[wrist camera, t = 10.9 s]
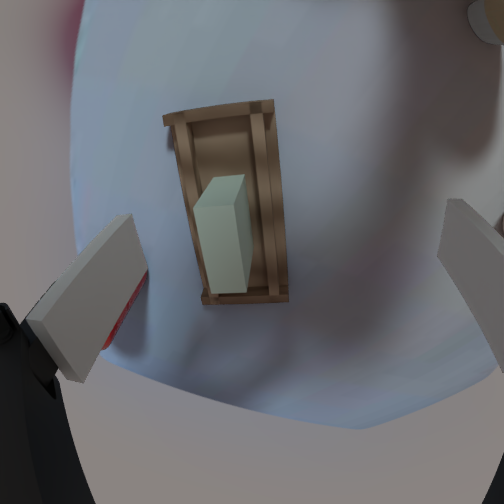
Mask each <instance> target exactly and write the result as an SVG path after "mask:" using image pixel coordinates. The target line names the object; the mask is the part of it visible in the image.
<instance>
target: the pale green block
mask: <svg viewBox="0 0 504 504" xmlns="http://www.w3.org/2000/svg"><path fill="white" fill-rule="evenodd" d="M193 211H194V216H195V221H196V225H197V230H198V235H199V240H200V245H201V249H202V254H203V259H204V263H205V268H206V272H207V277H208V281H209V286H210V290H211V294H217V293H246V292H247V287H248V281H249V274H250V268H251V261H252V255H253V248H254V245H253V237H252V229H251V220H250V212H249V204H248V196H247V188H246V180H245V174H243V175H233V176H222V177H213V179H212V180H211V182H210V183H209V185H208V186H207V188H206V189H205V191H204V192H203V194H202V195H201V197H200V198H199V200H198V201H197V203H196V204H195V206H194V207H193Z"/></svg>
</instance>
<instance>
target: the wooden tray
mask: <svg viewBox="0 0 504 504" xmlns="http://www.w3.org/2000/svg"><path fill="white" fill-rule="evenodd" d="M162 117H163V123H164V127H165V126H170V125H171V131H172V137H173V142H174V148H175V154H176V159H177V165H178V170H179V175H180V181H181V186H182V191H183V196H184V201H185V206H186V211H187V216H188V220H189V225H190V230H191V234H192V239H193V244H194V248H195V253H196V257H197V261H198V266H199V270H200V274H201V279H202V283H203V287H204V289H203V292H202V295H201V301H202V305H218V304H254V303H280V302H289V290H288V271H287V254H286V239H285V224H284V210H283V197H282V185H281V172H280V161H279V149H278V139H277V128H276V118H275V108H274V99H270V100H258V101H248V102H239V103H231V104H223V105H216V106H209V107H202V108H196V109H190V110H184V111H179V112H173V113H169V114H166V115H163V116H162ZM243 174H245V180H246V188H247V196H248V204H249V212H250V220H251V229H252V237H253V245H254V248H253V255H252V261H251V268H250V274H249V281H248V287H247V292H246V293H217V294H211V290H210V286H209V281H208V277H207V272H206V268H205V263H204V259H203V254H202V249H201V245H200V240H199V235H198V230H197V225H196V221H195V216H194V211H193V207H194V206H195V204H196V203H197V201H198V200H199V198H200V197H201V195H202V194H203V192H204V191H205V189H206V188H207V186H208V185H209V183H210V182H211V180H212V179H213V177H222V176H233V175H243Z"/></svg>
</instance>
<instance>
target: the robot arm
mask: <svg viewBox="0 0 504 504" xmlns="http://www.w3.org/2000/svg"><path fill="white" fill-rule="evenodd" d="M437 257H438V258H439V260H440V261H441V263H442V264H443V266H444V267H445V269H446V270H447V272H448V274H449V275H450V277H451V278H452V280H453V281H454V283H455V285H456V286H457V288H458V290H459V291H460V293H461V295H462V296H463V298H464V300H465V301H466V303H467V305H468V306H469V308H470V310H471V312H472V313H473V315H474V317H475V319H476V321H477V322H478V324H479V326H480V328H481V330H482V332H483V334H484V336H485V337H486V339H487V341H488V343H489V345H490V347H491V349H492V351H493V353H494V355H495V358H496V360H497V362H498V364H499V366H500V368H501V370H502V373H504V238H503V237H502V236H501V235H500V234H499V233H498V232H497V231H496V230H495V229H494V228H493V227H492V226H491V225H490V224H489V223H488V222H487V221H486V220H485V219H484V218H482V217H481V216H480V215H479V214H478V213H477V212H476V211H475V210H474V209H473V208H472V207H471V206H469V205H468V204H467V203H466V202H465V201H464V200H463V199H447V206H446V212H445V218H444V224H443V229H442V235H441V240H440V245H439V249H438V254H437ZM147 269H148V266H147V263H146V260H145V257H144V253H143V250H142V247H141V244H140V240H139V237H138V234H137V230H136V227H135V224H134V220H133V217H132V214H126V215H117V216H116V217H115V218H114V219H113V220H112V221H111V222H110V223H109V224H108V225H107V226H106V227H105V228H104V229H103V230H102V231H101V232H100V233H99V234H98V235H97V236H96V237H95V238H94V239H93V240H92V241H91V243H90V244H89V245H88V246H87V247H86V248H85V249H84V250H83V251H82V252H81V253H80V254H79V255H78V257H77V258H76V259H75V260H74V261H73V262H72V263H71V264H70V266H69V267H68V268H67V269H66V270H65V271H64V272H63V273H62V275H61V276H60V277H59V278H58V279H57V280H56V281H55V282H54V283H53V284H52V285H51V286H50V288H49V289H48V290H47V291H46V293H45V294H44V295H43V296H42V297H41V299H40V301H38V302H37V303H36V305H35V306H34V307H33V308H32V310H31V311H30V312H29V313H28V315H27V316H26V317H25V319H24V320H23V321H22V322H21V324H19V323H18V321H17V320H16V318H15V316H14V315H13V313H12V311H11V310H10V308H9V306H8V305H7V304H6V303H0V504H96V503H95V501H94V499H93V496H92V494H91V491H90V489H89V486H88V483H87V481H86V478H85V475H84V473H83V470H82V467H81V464H80V461H79V458H78V455H77V451H76V448H75V445H74V442H73V438H72V435H71V431H70V427H69V423H68V419H67V415H66V411H65V407H64V403H63V398H62V393H61V388H60V383H59V381H58V379H57V377H56V376H55V373H56V372H57V370H58V368H59V370H60V371H61V372H62V373H63V375H64V376H65V377H66V379H67V380H71V381H75V382H80V383H84V382H85V380H86V378H87V376H88V374H89V372H90V370H91V368H92V366H93V364H94V362H95V360H96V358H97V356H98V355H99V353H100V351H101V349H102V347H103V345H104V343H105V342H106V340H107V338H108V336H109V334H110V332H111V331H112V329H113V327H114V325H115V324H116V322H117V320H118V318H119V316H120V315H121V313H122V311H123V309H124V308H125V306H126V304H127V303H128V301H129V299H130V297H131V296H132V294H133V292H134V291H135V289H136V287H137V286H138V284H139V282H140V281H141V279H142V277H143V276H144V274H145V272H146V271H147ZM482 504H504V453H503V456H502V459H501V461H500V464H499V466H498V469H497V471H496V474H495V476H494V478H493V481H492V483H491V485H490V487H489V490H488V492H487V494H486V496H485V498H484V500H483V502H482Z"/></svg>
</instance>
